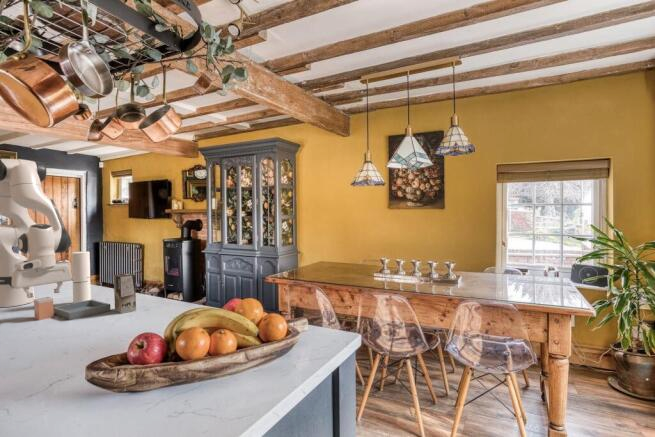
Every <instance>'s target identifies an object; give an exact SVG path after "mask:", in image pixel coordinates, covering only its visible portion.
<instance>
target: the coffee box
mask: <svg viewBox="0 0 655 437" xmlns="http://www.w3.org/2000/svg"><path fill="white" fill-rule="evenodd" d="M136 286H137V285H136V274H133V273H129V272H126V273H120V274H114V275H113V290H114V291H113V292H114V311H116V312H118V313H120V314H125V313H129V312H131V313H132V312H135V311H137V303H136V302H137V298H136V297H137V295H136V290H137V288H136Z"/></svg>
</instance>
